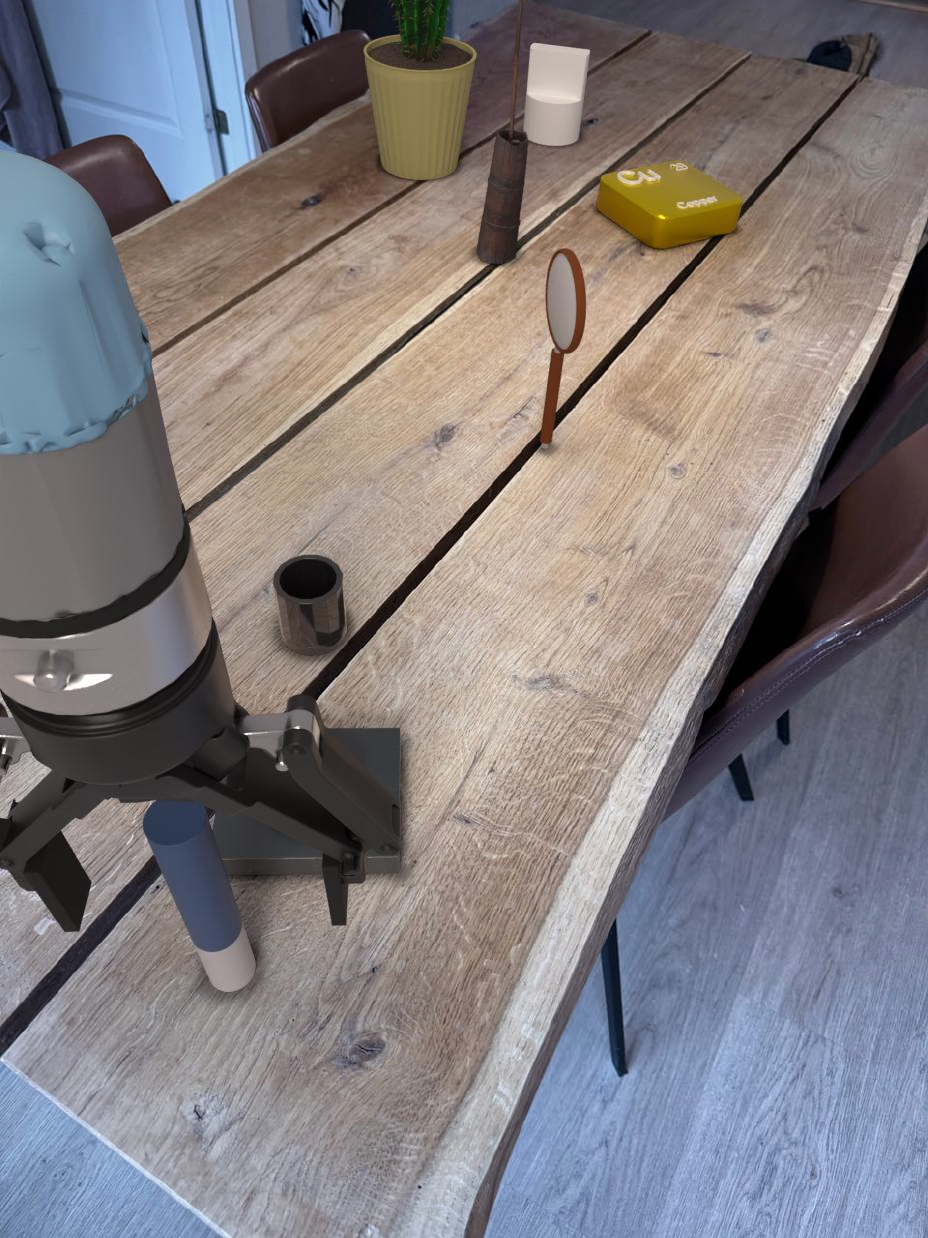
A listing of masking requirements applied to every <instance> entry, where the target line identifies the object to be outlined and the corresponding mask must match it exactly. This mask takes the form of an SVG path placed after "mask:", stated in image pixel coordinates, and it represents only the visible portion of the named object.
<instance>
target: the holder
mask: <svg viewBox="0 0 928 1238" xmlns="http://www.w3.org/2000/svg"><path fill="white" fill-rule="evenodd" d="M272 587H273V593H274V599H275V605H276V606H275V607H276V612H277V613H276V614H277V619H278V624H279V629H280V634H281V638H282V641H283V643H284V645H286V647H287V648H289V649H290V650H292V651H293V652H295V653H297V654H300V655H303V656H319V655H320V656H321V655H324V654H328V653H330V652H332V651H334V650H335V649H337V648H338V647H339V646H341V644H342V643H343V642H344V640H345V639H346V636H347V632H348V624H347V618H348V617H347V607H346V605H347V604H346V591H345V581H344V573H343V571H342V569H341V567H340V565H339V564H338V563H337V562H335V561H334V560H332V559H331V558H330V557H327V556H324V555H320V554H301V555H297V556H293V557H291V558H289V559H288V560H286V561H284V562H283V563H281V564H280V565H279V566H278V567H277V569H276V570H275V572H274V573H273V579H272Z"/></svg>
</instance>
